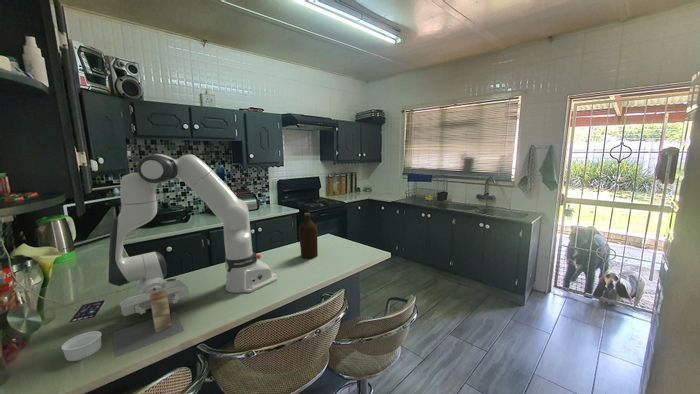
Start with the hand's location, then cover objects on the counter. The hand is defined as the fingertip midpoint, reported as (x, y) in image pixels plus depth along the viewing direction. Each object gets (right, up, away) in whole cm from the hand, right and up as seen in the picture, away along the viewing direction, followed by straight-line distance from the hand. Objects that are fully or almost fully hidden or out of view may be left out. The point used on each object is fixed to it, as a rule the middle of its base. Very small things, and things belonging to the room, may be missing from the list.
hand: (159, 306), depth 97 cm
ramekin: (-15, -10, -12) cm, 21 cm away
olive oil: (+43, +4, +63) cm, 77 cm away
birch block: (+2, -7, -1) cm, 7 cm away
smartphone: (-36, -7, +12) cm, 38 cm away
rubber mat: (-1, -8, -3) cm, 8 cm away
